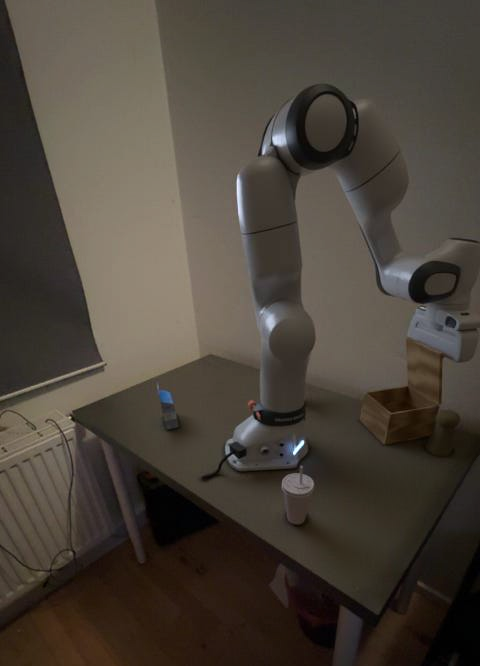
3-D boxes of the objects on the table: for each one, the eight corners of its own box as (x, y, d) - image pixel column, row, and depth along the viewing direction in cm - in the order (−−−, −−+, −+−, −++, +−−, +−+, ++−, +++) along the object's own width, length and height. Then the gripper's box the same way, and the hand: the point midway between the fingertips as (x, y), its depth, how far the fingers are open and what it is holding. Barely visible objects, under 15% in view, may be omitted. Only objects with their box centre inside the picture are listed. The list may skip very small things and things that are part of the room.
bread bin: (384, 444, 94) (390, 414, 89) (359, 420, 105) (364, 392, 100) (431, 436, 96) (439, 406, 91) (402, 413, 107) (408, 385, 102)
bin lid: (439, 353, 83) (442, 352, 83) (405, 337, 94) (408, 336, 94) (438, 405, 91) (441, 404, 91) (407, 384, 102) (410, 383, 102)
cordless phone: (179, 427, 107) (172, 391, 100) (165, 430, 106) (158, 394, 99) (175, 414, 114) (169, 380, 107) (162, 416, 113) (156, 382, 106)
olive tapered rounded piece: (425, 440, 95) (435, 405, 89) (450, 444, 93) (462, 408, 87) (426, 453, 90) (436, 416, 84) (452, 457, 88) (465, 420, 82)
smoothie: (304, 534, 70) (308, 480, 62) (275, 522, 73) (276, 470, 65) (316, 513, 74) (321, 461, 67) (288, 503, 77) (290, 452, 70)
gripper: (407, 305, 93) (397, 354, 100) (465, 325, 76) (448, 383, 83) (428, 302, 94) (416, 352, 101) (490, 322, 77) (470, 379, 84)
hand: (431, 366), depth 92 cm, fingers closed
